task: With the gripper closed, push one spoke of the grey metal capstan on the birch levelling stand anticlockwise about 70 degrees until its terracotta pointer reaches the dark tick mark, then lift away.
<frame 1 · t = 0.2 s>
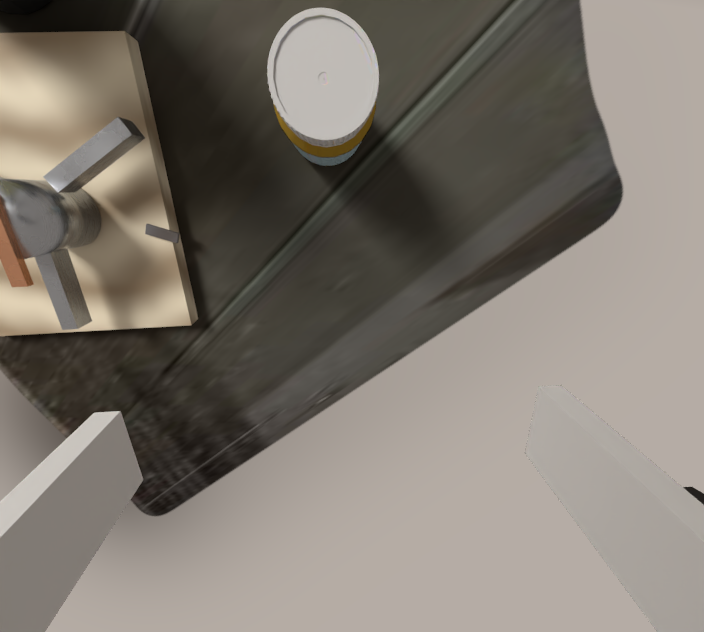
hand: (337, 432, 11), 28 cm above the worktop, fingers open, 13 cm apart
capstan: (41, 235, 28), point 6 cm above the worktop, hinge at 0.0°
stand: (59, 203, 33), on the worktop
bottle: (326, 127, 32), on the worktop
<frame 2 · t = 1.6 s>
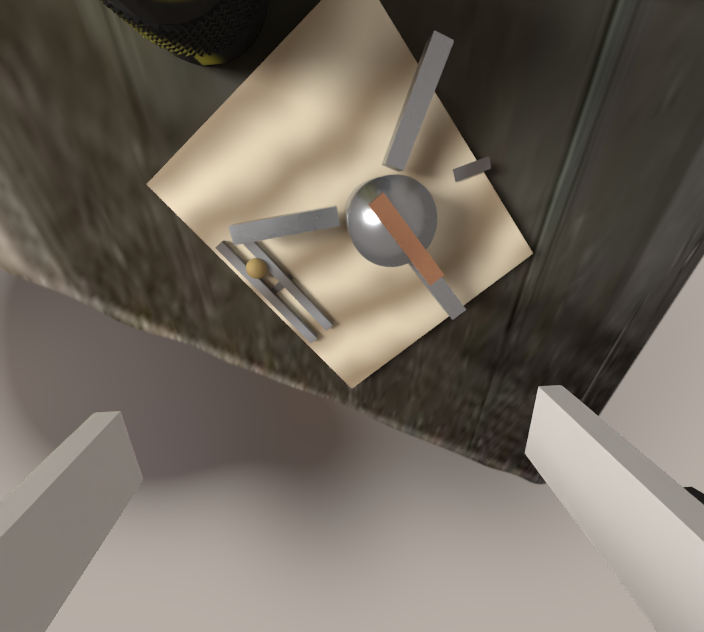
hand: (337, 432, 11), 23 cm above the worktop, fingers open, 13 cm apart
capstan: (397, 233, 25), point 6 cm above the worktop, hinge at 0.0°
stand: (352, 219, 30), on the worktop
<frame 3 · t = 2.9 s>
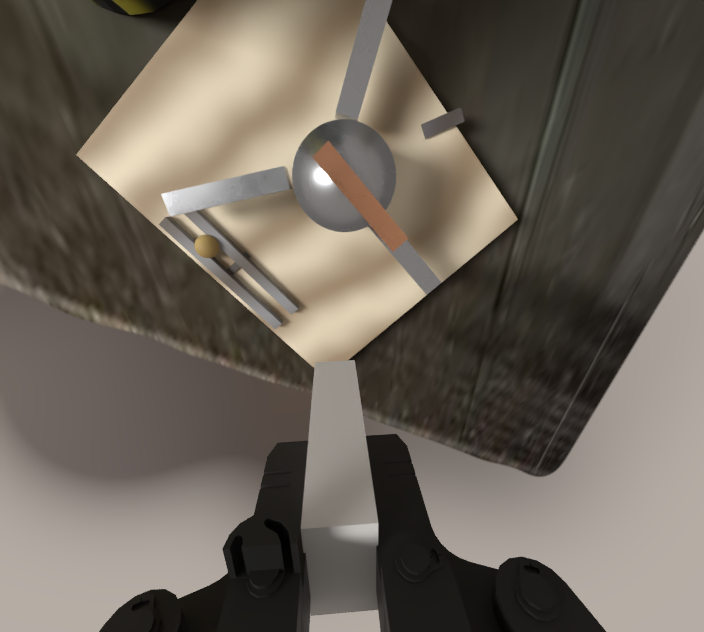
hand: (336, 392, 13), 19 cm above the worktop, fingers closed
capstan: (357, 197, 22), point 6 cm above the worktop, hinge at 0.0°
stand: (314, 189, 27), on the worktop
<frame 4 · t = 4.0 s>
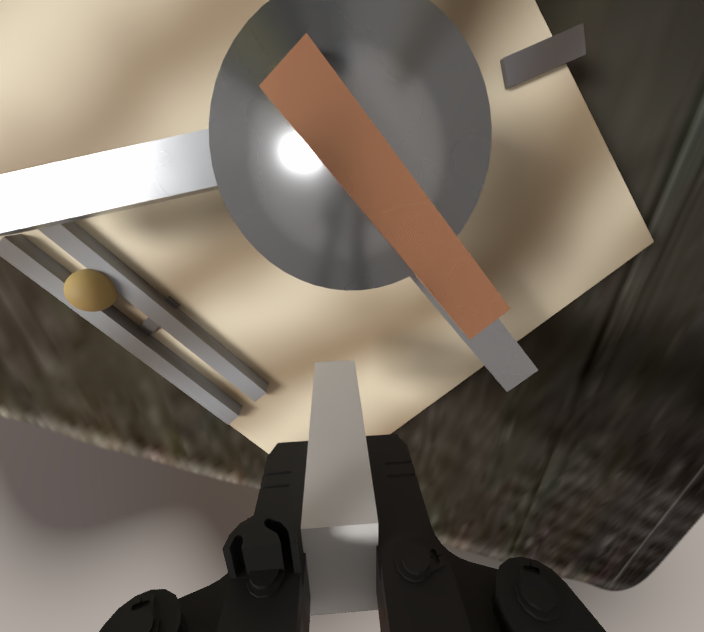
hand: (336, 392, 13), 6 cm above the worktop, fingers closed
capstan: (377, 202, 10), point 6 cm above the worktop, hinge at 0.0°
stand: (294, 185, 15), on the worktop
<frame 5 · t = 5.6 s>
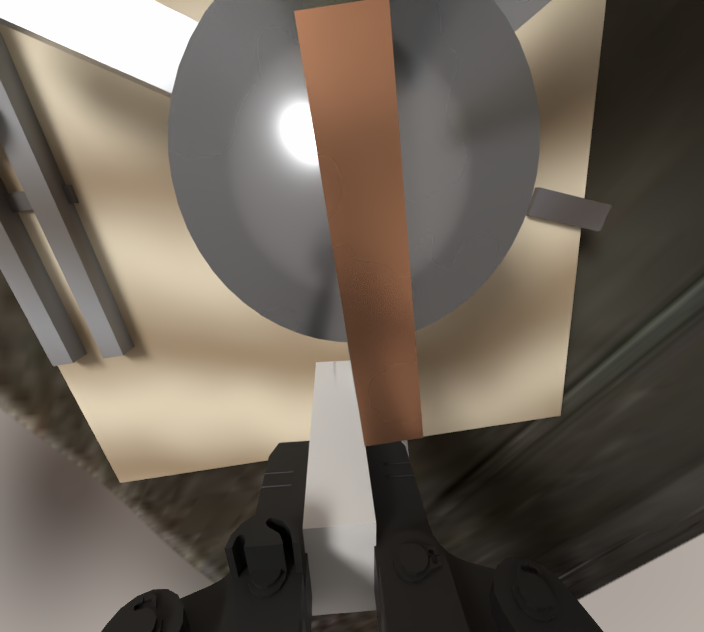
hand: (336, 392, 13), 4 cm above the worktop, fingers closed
capstan: (357, 239, 9), point 6 cm above the worktop, hinge at 0.0°, touching gripper
stand: (290, 165, 13), on the worktop
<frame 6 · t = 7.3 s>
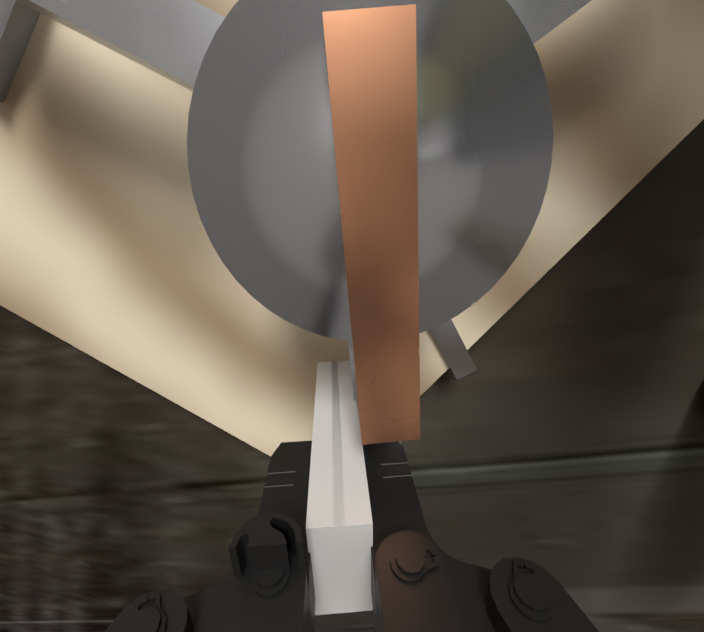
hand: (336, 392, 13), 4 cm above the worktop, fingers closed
capstan: (364, 239, 9), point 6 cm above the worktop, hinge at 44.2°, touching gripper
stand: (309, 123, 13), on the worktop
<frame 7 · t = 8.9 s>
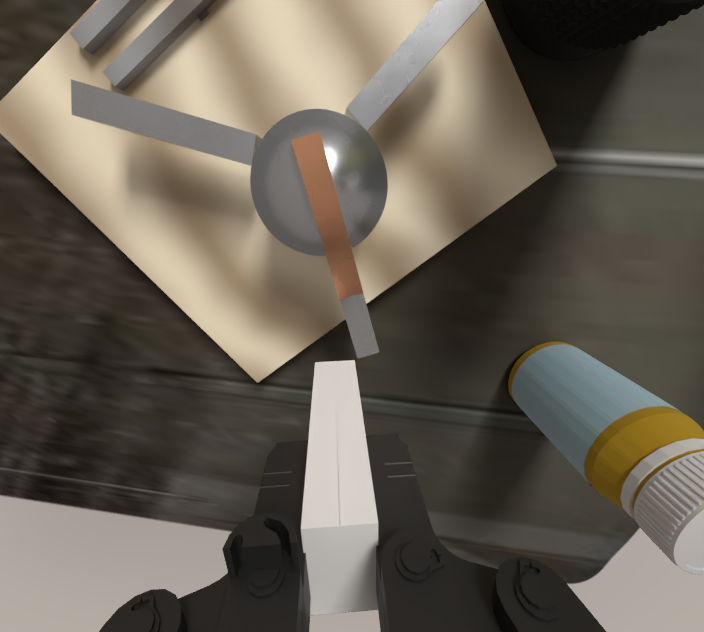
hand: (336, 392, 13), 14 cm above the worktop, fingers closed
capstan: (328, 216, 18), point 6 cm above the worktop, hinge at 68.8°
stand: (297, 147, 22), on the worktop
bottle: (540, 372, 30), on the worktop
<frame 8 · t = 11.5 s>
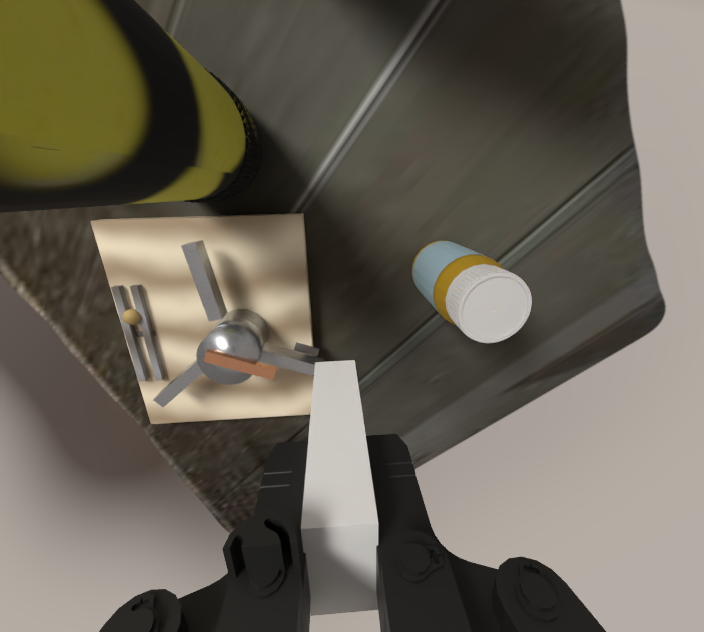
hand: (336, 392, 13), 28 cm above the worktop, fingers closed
capstan: (248, 349, 36), point 6 cm above the worktop, hinge at 68.8°
container: (212, 146, 35), on the worktop
stand: (223, 323, 41), on the worktop
bottle: (437, 268, 41), on the worktop
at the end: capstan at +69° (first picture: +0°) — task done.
